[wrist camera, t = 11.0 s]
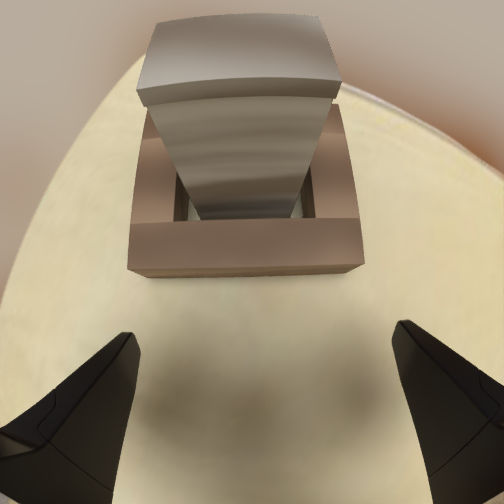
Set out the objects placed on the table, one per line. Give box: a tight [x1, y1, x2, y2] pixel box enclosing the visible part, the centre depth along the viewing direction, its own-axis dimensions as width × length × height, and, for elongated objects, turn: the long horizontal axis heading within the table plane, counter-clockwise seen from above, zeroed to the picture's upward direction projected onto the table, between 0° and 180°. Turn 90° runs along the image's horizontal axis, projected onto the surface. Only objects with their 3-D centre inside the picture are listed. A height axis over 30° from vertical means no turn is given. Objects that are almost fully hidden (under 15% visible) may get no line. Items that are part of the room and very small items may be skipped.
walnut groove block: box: [127, 104, 365, 278], centre depth 18 cm, size 10×12×4 cm
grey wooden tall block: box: [136, 13, 342, 221], centre depth 13 cm, size 4×6×12 cm, turn 92°
